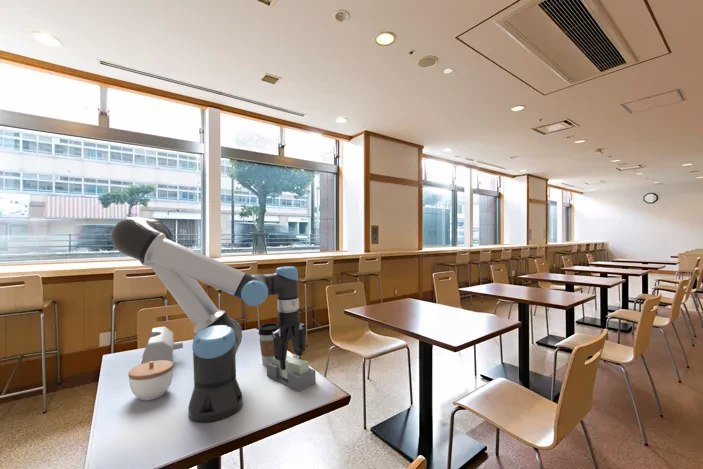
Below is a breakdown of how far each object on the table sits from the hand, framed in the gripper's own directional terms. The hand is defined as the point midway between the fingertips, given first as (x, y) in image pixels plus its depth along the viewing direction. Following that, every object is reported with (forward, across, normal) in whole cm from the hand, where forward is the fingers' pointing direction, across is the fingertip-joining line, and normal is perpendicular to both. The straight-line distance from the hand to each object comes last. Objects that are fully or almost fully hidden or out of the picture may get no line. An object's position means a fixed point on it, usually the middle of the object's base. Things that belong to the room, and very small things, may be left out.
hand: (291, 375), depth 115 cm
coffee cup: (+2, +4, +19) cm, 20 cm away
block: (0, 0, 0) cm, 0 cm away
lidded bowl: (+1, -36, +27) cm, 45 cm away
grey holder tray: (+2, 0, 0) cm, 2 cm away
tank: (+1, -25, +55) cm, 60 cm away
